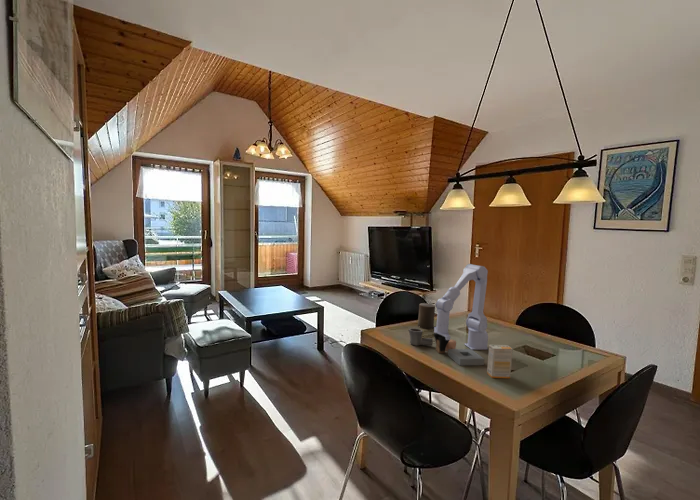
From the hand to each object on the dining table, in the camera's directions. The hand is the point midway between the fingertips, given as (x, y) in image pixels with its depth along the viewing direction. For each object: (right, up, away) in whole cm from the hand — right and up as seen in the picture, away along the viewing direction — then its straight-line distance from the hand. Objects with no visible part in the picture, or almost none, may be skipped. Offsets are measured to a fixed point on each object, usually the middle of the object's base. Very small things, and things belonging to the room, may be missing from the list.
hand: (440, 349), depth 168 cm
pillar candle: (+2, +2, +42) cm, 42 cm away
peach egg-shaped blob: (+5, -2, +3) cm, 6 cm away
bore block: (+9, -3, -8) cm, 13 cm away
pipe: (-9, -1, +8) cm, 12 cm away
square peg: (0, -1, 0) cm, 1 cm away
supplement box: (+18, -5, -24) cm, 30 cm away
